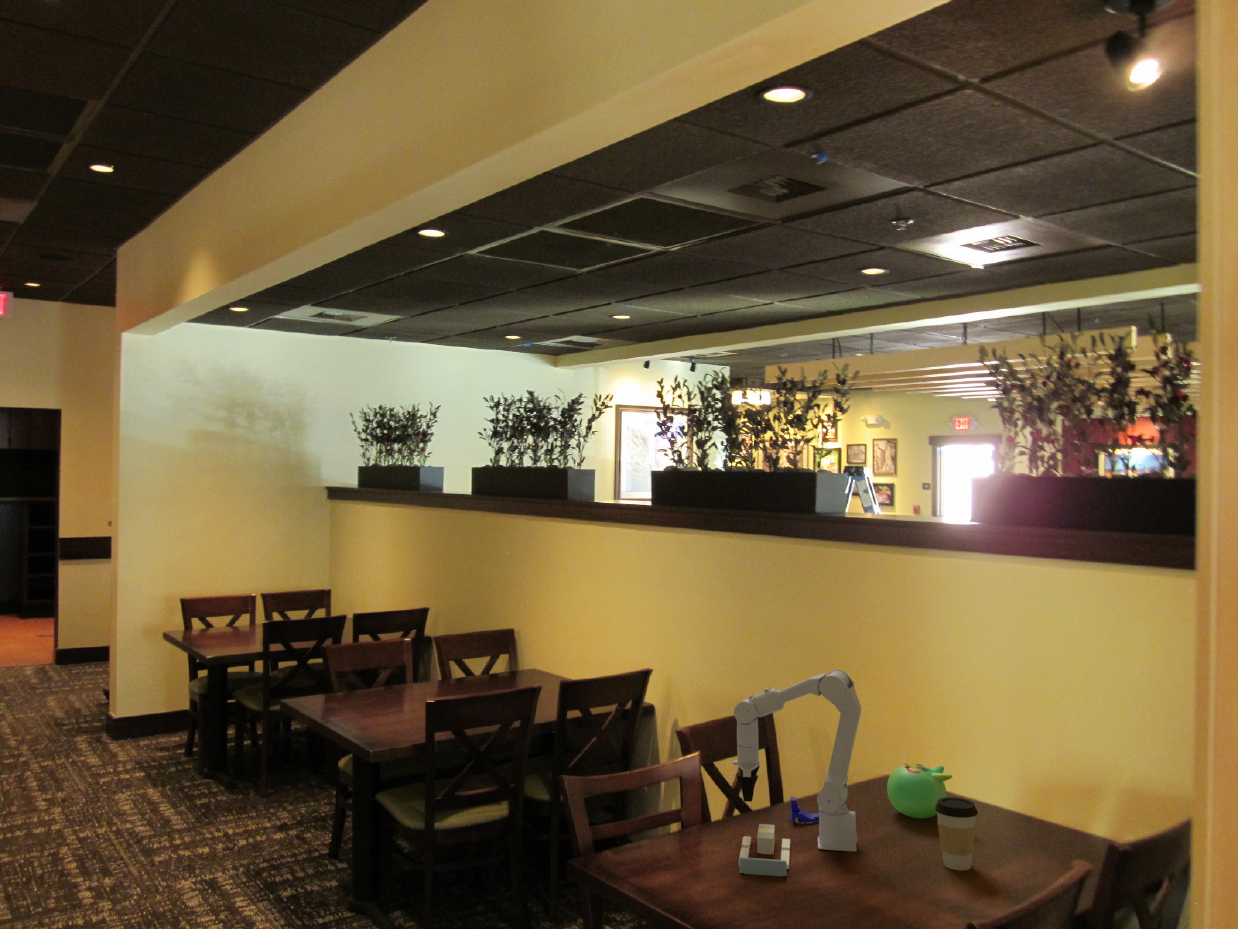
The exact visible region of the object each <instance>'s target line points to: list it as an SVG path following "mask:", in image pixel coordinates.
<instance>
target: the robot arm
mask: <svg viewBox="0 0 1238 929" xmlns="http://www.w3.org/2000/svg"><path fill="white" fill-rule="evenodd" d="M809 694H811V695H814V696H817V697H820V696H822V697H823V698H825V699H826V700H827V701H828V702H830V703H831V704H832V705H834V707H835V708H836V709H837V710H838V712H839V714H840V715H839V716H840V717H839V720H838V724H837V729H836V734H835V738H834V744H833V748H832V752H831V757H830V762H829V766H828V770H827V771H828V772H827V774H826V776H825V781H824V783H823V787H822V789H821V790H820V791H819V792H818V794H817V797H816V802H817V805H818V812H819V822H818V832H819V835H818V836H817V849H818V850H825V851H840V852H841V851H843V852H857V842H858V834H857V820H856V819H857V818H856V811H854V810H849V808H848V806H847V805H846V803H845V802H846V801H847V800H848V798H849V788H848V780H849V779H848V778H849V777H848V773H849V768H850V765H851V764H850V763H851V760H852V754H853V751H854V745H855V740H856V736H857V731H858V726H859V723H860V717H861V714H862V705H861V703H860V699H859V696H858V693H857V691H856V687H855V682H854V681H853V679H852V678H851V676H849V674H848V673H846V671H843V670H842V669H833V670H832V671H830V672H823V673H820V674H818V675H814V676H810V677H809V678H806V679H805V680H802V681H799V682H798V683H795V684H793V685H790V686H789V687H786V688H784V689H782V690H780V689H777V688H770V687H767V688H765V689H764V690H763V692H760V693H759V694H757V695H753V694H751V695H749V696H748V698H745V699H743V700H741V701H740V702H739V703H737V704H736V705H735V707H734V709H733V716H734V718H735V719H736V751H737V753H736V754H737V759H736V760H733V761H732V765H734V766H737V767H738V769H739V771H740V773H739V772H737V773H736V778H737V781H738V783H739V786H740V789H741V793H742V795H741V796H742V799H743V801H744V802H751V803H752V802H753V798H754V794H755V793H754V791H755V787H756V783H757V781H758V779H759V775H758V771H759V769H760V766H761V765H760V764H761V763H760V752H759V751H760V750H759V749H760V747H759V745H760V744H759V720H758V719H759V718H762V717H765V716H768V715H770V714H773V713H775V712H776V713H777V712H778V711H781V710H782V709H784V706H785V703H786V702H790V701H793V700H795V699H798V698H801V697H803V696H806V695H809Z"/></svg>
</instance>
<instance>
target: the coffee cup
mask: <svg viewBox="0 0 1238 929" xmlns="http://www.w3.org/2000/svg"><path fill="white" fill-rule="evenodd" d="M935 810H936V811H937V814H936V815H937V827H938V828H937V830H938V834H939V842H940V849H941V852H942V860H943V865H944V867H946V868H947V869H951V870H954V871H967V870H970V869H971V867H972V858H973V854H974V847H975V846H974V844H975V836H976V834H975V833H976V820H977V819H976V818H977V817H976V816H977V815H978V814H979V812H978V808H977V807H976V805H975V803H974V801H971V800H969V799H967V798H961V797H955V796H954V797H953V796H951V797H950V796H946V797H945V798H941V799H939V800H938V802H937V804H936V806H935Z"/></svg>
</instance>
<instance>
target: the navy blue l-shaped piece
mask: <svg viewBox="0 0 1238 929" xmlns="http://www.w3.org/2000/svg"><path fill="white" fill-rule="evenodd" d="M789 799H790V800H789V801H790V802H789V803H790V804H789V805H790V806H789V807H790V808H789V809H790V810H789V813H790V815H789V816H790V821H792V822H791V824H792V823H796V822H795V818H798V821H799V823H801V822H804V823H806V822H813V823H814V824H815V822H814V821H819V811H818V812H814V813H810V812H807V811H805V810H803V809H802V808H801V807H800V806H799V804H798V800H797V797H796V796H790V798H789Z"/></svg>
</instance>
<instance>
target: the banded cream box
mask: <svg viewBox="0 0 1238 929" xmlns="http://www.w3.org/2000/svg"><path fill="white" fill-rule="evenodd" d="M775 832H776V826H775V824H765V823H759V824H758V828H757V835H756V836H757V837H756V839H757V840H756V842H757V845H756V846H757V847H756V848H757V849H756V850H757V852H756V853H761V854H760V855H771V854H773V855H774V852H775V851H774V850H775V843H776V842H775V841H776V833H775Z"/></svg>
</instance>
